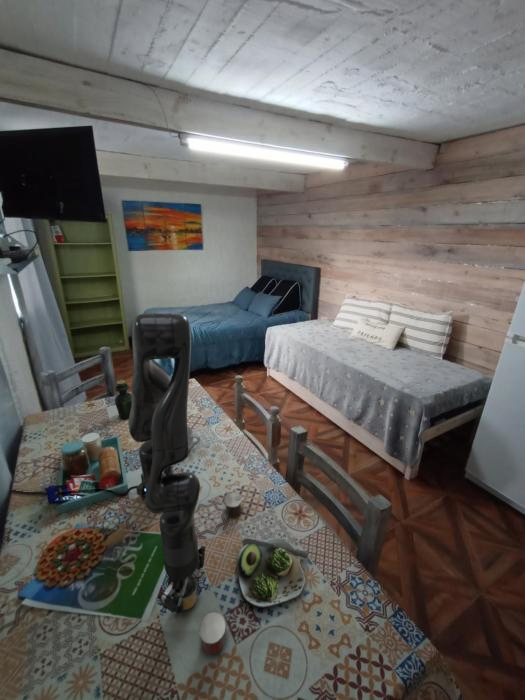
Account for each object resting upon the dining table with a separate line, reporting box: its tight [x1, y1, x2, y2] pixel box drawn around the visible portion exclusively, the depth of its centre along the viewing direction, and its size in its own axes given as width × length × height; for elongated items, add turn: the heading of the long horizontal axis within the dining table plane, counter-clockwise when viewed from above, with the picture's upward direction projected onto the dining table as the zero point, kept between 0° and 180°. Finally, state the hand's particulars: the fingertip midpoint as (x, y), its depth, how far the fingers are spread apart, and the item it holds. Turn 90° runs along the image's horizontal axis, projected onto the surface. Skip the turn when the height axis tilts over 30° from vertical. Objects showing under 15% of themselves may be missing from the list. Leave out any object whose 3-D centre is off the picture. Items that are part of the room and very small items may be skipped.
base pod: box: [223, 492, 243, 518], centre depth 99 cm, size 6×6×5 cm
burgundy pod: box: [198, 611, 227, 655], centre depth 68 cm, size 6×6×5 cm
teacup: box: [188, 426, 201, 450], centre depth 126 cm, size 14×11×8 cm
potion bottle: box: [114, 379, 132, 420], centre depth 147 cm, size 8×8×18 cm
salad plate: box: [235, 537, 309, 609], centre depth 82 cm, size 19×18×5 cm
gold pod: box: [175, 574, 198, 611], centre depth 75 cm, size 6×6×5 cm
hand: (186, 597), depth 76 cm, fingers closed on gold pod, 5 cm apart
